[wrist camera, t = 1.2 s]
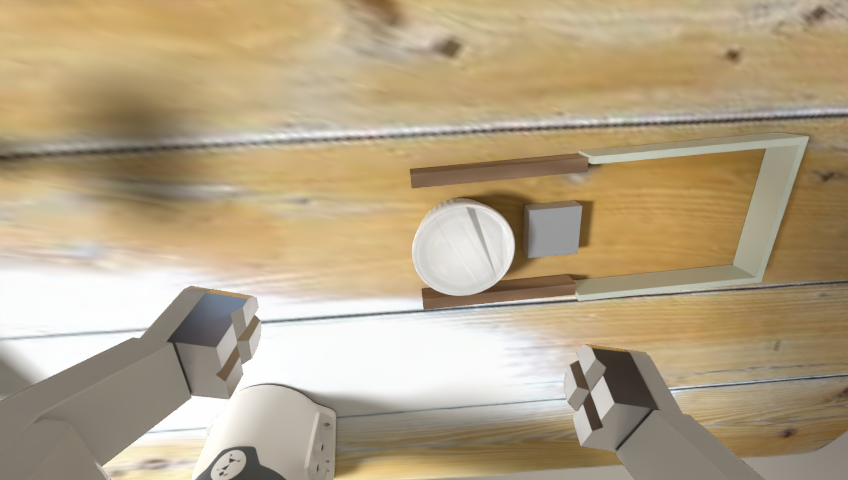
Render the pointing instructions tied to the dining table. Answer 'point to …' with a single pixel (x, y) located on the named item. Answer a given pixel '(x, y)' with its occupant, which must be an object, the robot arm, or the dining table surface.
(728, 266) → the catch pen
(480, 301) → the runway rails
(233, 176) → the dining table surface
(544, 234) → the slate tile
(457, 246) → the ramekin
